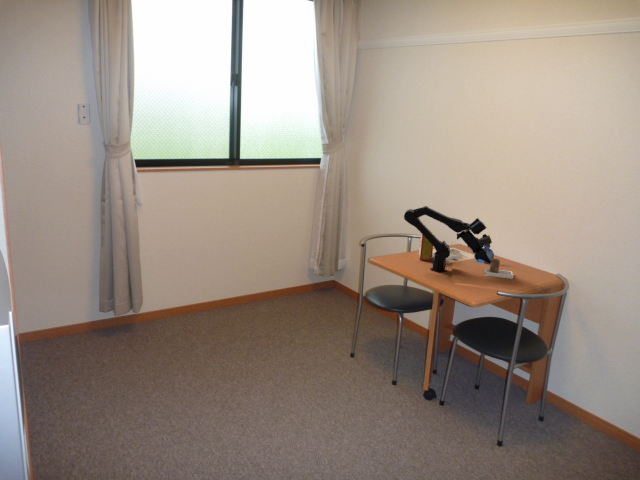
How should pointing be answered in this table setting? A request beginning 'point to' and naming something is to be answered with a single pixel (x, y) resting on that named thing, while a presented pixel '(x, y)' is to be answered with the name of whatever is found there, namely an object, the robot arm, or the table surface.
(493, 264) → the block
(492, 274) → the trap track
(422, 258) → the baking soda box
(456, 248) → the table surface
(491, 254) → the perfume bottle
